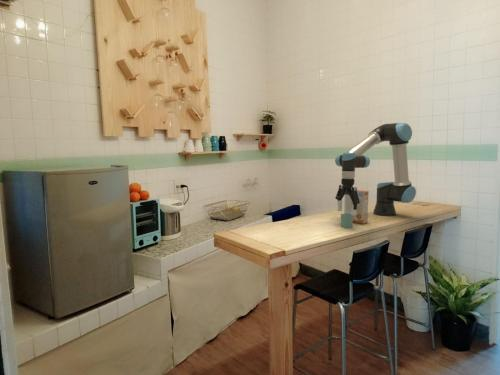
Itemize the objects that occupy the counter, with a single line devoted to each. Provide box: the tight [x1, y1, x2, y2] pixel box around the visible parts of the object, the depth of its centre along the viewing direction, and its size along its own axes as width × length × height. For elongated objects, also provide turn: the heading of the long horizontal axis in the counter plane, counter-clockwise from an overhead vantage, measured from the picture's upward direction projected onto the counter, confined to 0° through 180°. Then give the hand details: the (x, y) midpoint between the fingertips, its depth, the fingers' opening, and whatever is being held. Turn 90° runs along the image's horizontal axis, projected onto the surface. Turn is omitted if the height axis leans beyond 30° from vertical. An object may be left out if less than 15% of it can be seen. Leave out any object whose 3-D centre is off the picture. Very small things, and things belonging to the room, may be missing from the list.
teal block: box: [340, 213, 354, 229], centre depth 204 cm, size 5×5×8 cm
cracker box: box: [343, 189, 370, 225], centre depth 217 cm, size 14×6×21 cm, turn 41°
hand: (346, 212), depth 203 cm, fingers open, 13 cm apart
